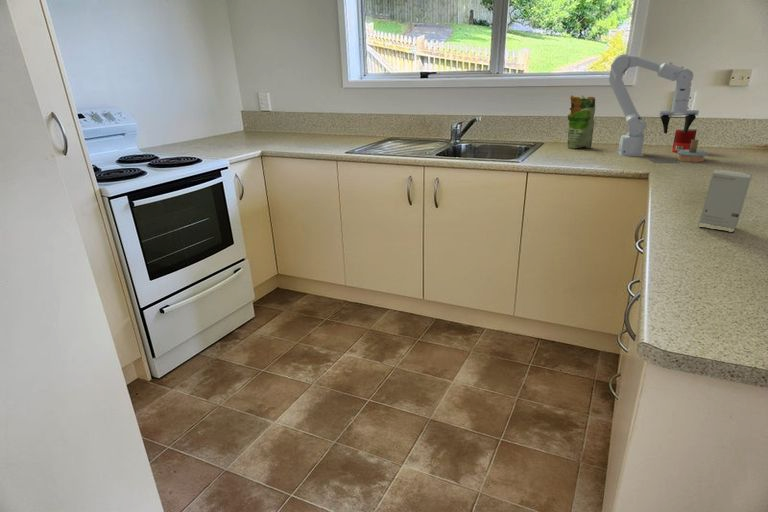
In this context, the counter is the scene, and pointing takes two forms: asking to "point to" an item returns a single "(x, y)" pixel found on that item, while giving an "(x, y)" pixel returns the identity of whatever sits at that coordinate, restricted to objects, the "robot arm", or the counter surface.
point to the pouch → (581, 122)
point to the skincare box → (725, 198)
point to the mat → (663, 160)
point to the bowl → (691, 158)
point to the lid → (693, 150)
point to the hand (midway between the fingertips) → (675, 133)
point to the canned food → (683, 138)
